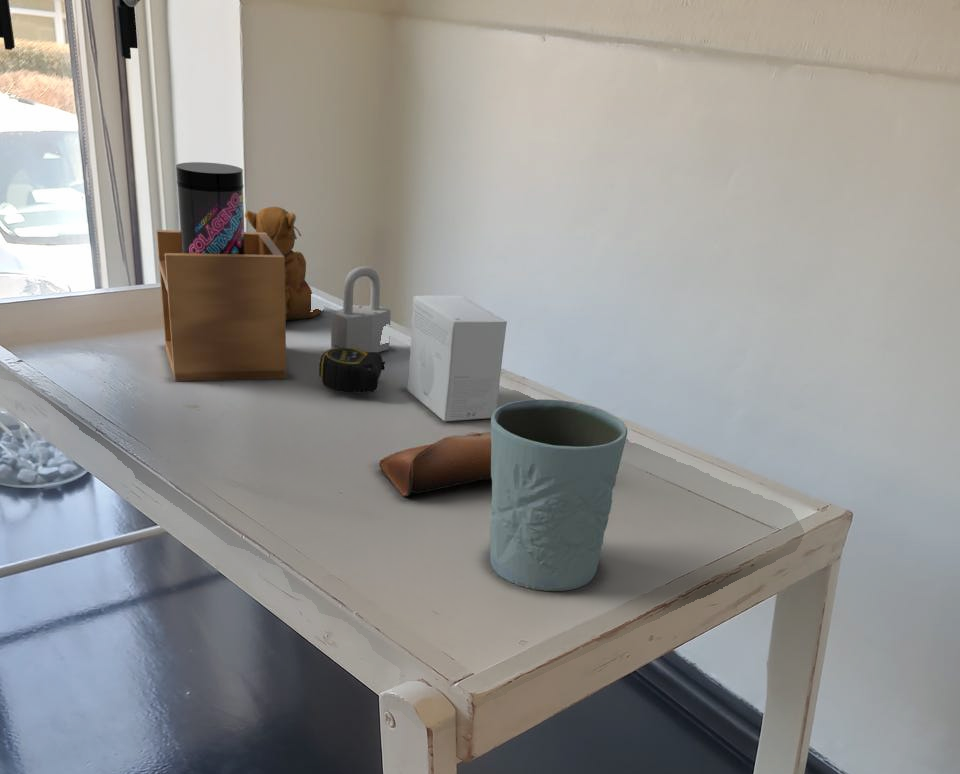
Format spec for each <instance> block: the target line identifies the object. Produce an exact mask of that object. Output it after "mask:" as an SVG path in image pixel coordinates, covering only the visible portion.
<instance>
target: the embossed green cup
mask: <svg viewBox="0 0 960 774" xmlns="http://www.w3.org/2000/svg"><path fill="white" fill-rule="evenodd" d="M490 432H491V478H492V479H491V503H490V507H491V515H492V518H491V523H490V525H489V560H490V564H491V567H492V569H493V570H494V572H495V573H496V574H497V575H498V576H499V577H500V578H502V579H504V580H506V581H507V582H509V583H511V584H515V585H516V586H519V587H525V588H526V589H531V590H535V591H544V592H545V591H546V592H559V591H560V592H565V591H571V590H576V589H579V588H581V587H584V586H586V585H587V584H589V583H590V582H591V581H592V580H593V578H594V577H595V575H596V573H597V569H598V565H599V561H600V557H601V552H602V549H603V545H604V538H605V531H606V529H607V526H608V522H609V518H610V517H609V516H610V513H611V510H612V506H613V491H614V490H613V489H614V488H615V486H616V483H617V475H618V473H619V469H620V465H621V461H622V458H623V453H624V450H625V445H626V442H627V438H628V427H627V426H626V424H625V422H624V421H623V420H622V419H621V418H619V417H617V416H615V415H614V414H611V413H610V412H608V411H606V410H604V409H602V408H599V407H597V406H593V405H589V404H585V403H581V402H576V401H575V402H574V401H569V400H561V399H560V400H559V399H524V400H518V401H517V400H516V401H512V402H509V403H506V404H503V405H500V406H499V407H497V409H496V410H495V411H494V412H493V415H492V417H491V418H490Z"/></svg>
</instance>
